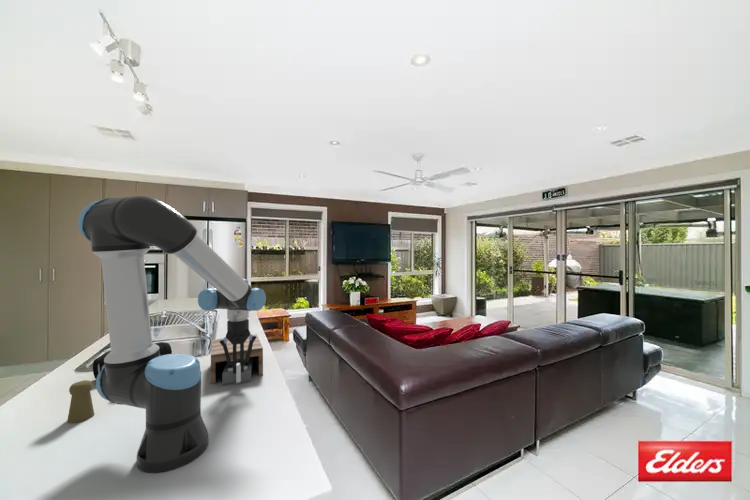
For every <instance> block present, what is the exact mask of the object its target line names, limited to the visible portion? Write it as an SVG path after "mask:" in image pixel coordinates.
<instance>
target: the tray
mask: <svg viewBox="0 0 750 500" xmlns="http://www.w3.org/2000/svg"><path fill="white" fill-rule="evenodd" d="M237 363H240V359H237ZM253 368H254V359H253V357H250V358H249V361H248V362H245V363H244V372H241V382H239V383H236V374H233V365H228V363H225V365H224V368H223V372H222V377H221V378H222V384H221V385H222V386H228V385H237V384H243V383H244V384H245V383H251V382H252V375H253Z"/></svg>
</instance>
